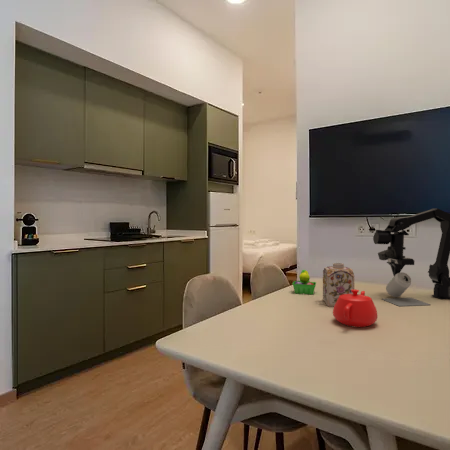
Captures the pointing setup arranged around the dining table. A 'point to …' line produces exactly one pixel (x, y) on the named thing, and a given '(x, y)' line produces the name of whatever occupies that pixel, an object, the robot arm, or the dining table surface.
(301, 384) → the dining table surface
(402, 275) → the can
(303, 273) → the fruit basket
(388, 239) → the robot arm
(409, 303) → the mat
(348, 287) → the decorative jar
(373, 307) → the teapot
